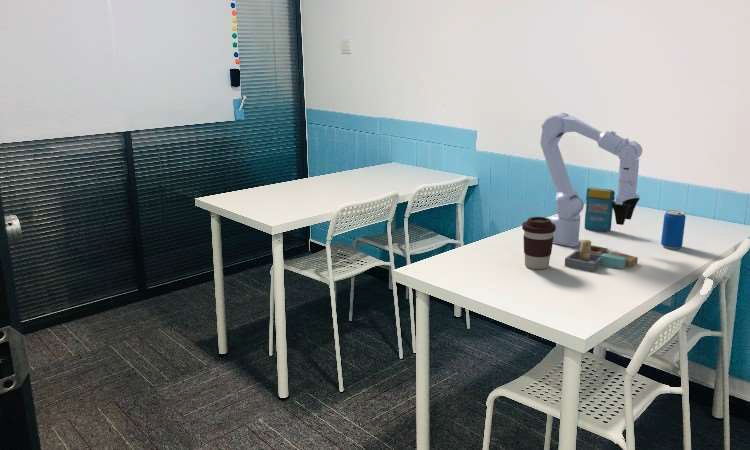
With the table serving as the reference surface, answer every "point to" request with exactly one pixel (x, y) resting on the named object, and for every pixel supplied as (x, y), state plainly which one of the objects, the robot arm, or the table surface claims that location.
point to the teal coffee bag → (599, 209)
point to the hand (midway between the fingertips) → (623, 221)
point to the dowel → (585, 250)
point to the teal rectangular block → (613, 261)
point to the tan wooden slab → (627, 259)
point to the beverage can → (673, 229)
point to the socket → (597, 250)
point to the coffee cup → (538, 242)
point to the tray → (575, 261)
